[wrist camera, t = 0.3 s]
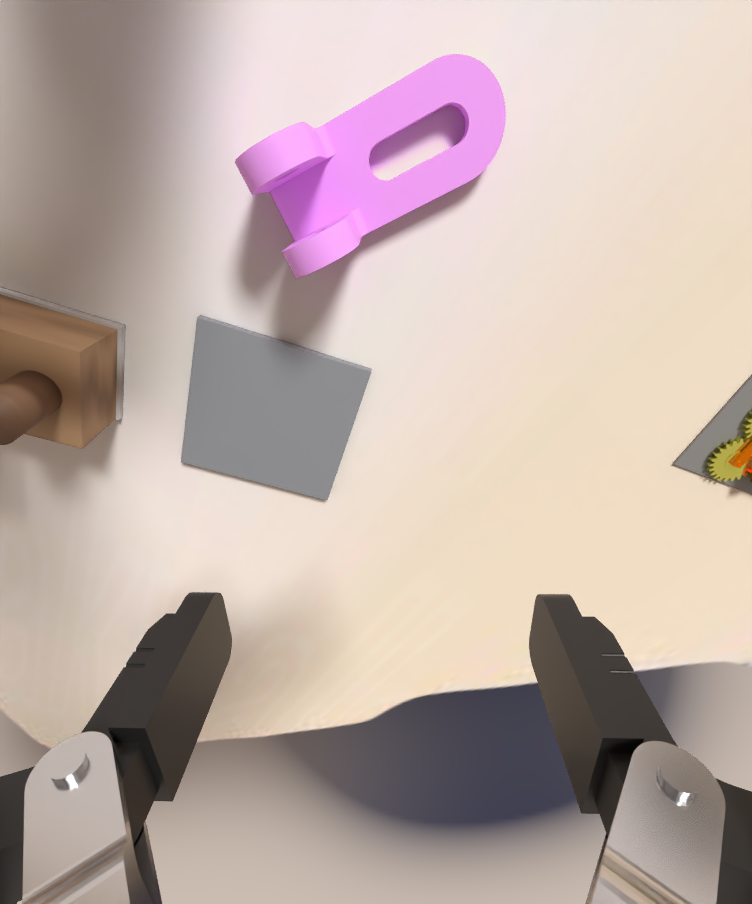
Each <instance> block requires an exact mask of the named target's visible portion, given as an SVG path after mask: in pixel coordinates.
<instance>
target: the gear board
mask: <svg viewBox="0 0 752 904" xmlns="http://www.w3.org/2000/svg"><path fill="white" fill-rule="evenodd" d="M673 464H674V465H676V466H679V467H681V468H684V469H687V470H689V471H692V472H695V473H697V474H700V475H703V476H706V477H708V478H711V479H714V480H716V481H719V482H722V483H724V484H727V485H730V486H732V487H735V488H738V489H740V490H743V491H746V492H748V493H751V494H752V375H751V376H750V377H749V378H748V379H747V380H746V382H745V383H744V384H743V385H742V386H741V387H740V388H739V389H738V390H737V392H736V393H735V394H734V395H733V396H732V397H731V398H730V399H729V401H728V402H727V403H726V404H725V405H724V406H723V407H722V408H721V410H720V411H719V412H718V413H717V414H716V415H715V416H714V417H713V419H712V420H711V421H710V422H709V423H708V424H707V425H706V426H705V428H704V429H703V430H702V431H701V432H700V433H699V434H698V435H697V437H696V438H695V439H694V440H693V441H692V442H691V443H690V444H689V446H688V447H687V448H686V449H685V450H684V451H683V452H682V453H681V455H680V456H679V457H678V458H677V459H676V460H675V461H674V462H673Z"/></svg>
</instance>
